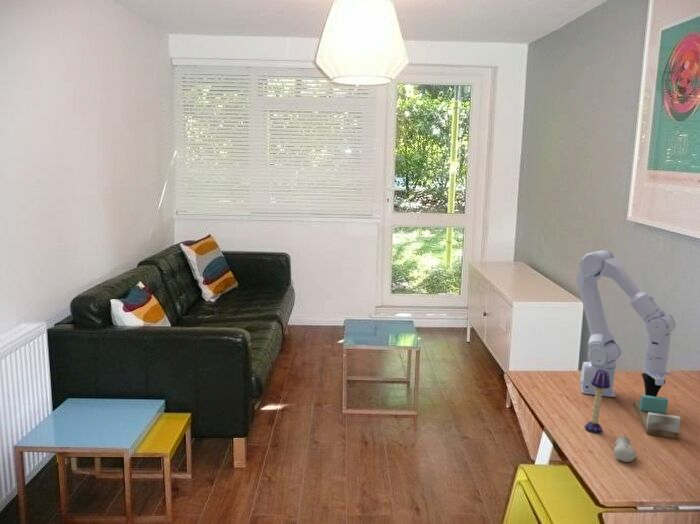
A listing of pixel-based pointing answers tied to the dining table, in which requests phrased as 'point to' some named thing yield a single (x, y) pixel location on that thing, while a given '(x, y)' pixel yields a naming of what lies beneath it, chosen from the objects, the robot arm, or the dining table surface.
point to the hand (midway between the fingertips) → (650, 399)
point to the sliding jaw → (653, 404)
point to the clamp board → (658, 422)
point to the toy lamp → (598, 398)
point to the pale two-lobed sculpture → (624, 449)
